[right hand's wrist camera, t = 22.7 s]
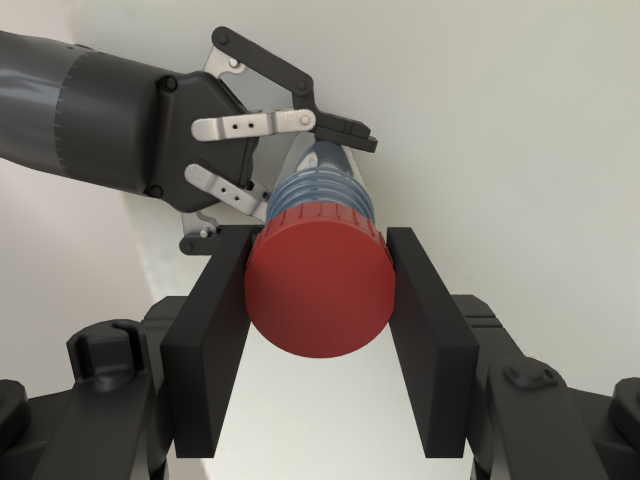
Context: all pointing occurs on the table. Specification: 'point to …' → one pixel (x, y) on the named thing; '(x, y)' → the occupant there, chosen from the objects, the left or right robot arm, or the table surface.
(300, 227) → the cap
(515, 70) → the table surface
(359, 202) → the bottle
